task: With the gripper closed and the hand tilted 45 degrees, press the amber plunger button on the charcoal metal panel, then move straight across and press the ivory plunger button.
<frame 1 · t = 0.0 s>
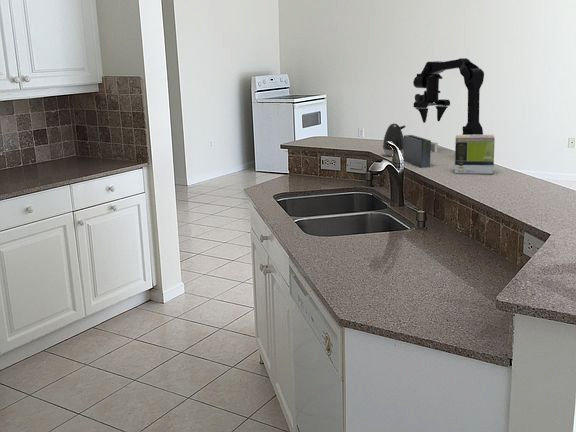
hand: (431, 121, 305), 15 cm above the counter, tool pointing down, fingers open, 9 cm apart
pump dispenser: (393, 156, 302), on the counter
amber button: (417, 142, 285), point 8 cm above the counter, slide at 0.0 cm
tea box: (473, 172, 258), on the counter
ivory button: (430, 147, 272), point 8 cm above the counter, slide at 0.0 cm
button panel: (428, 162, 281), on the counter
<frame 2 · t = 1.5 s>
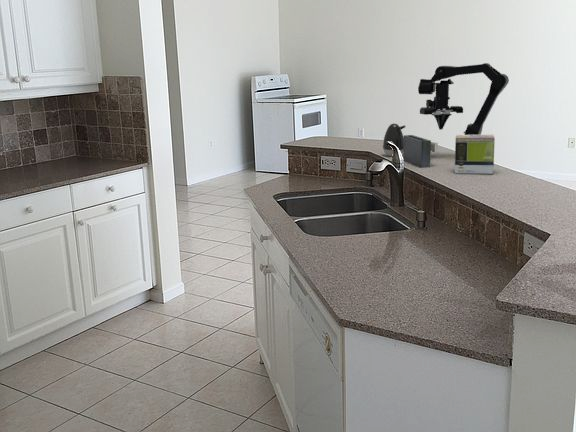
hand: (440, 129, 289), 13 cm above the counter, tool pointing down, fingers closed
nothing on the counter moved.
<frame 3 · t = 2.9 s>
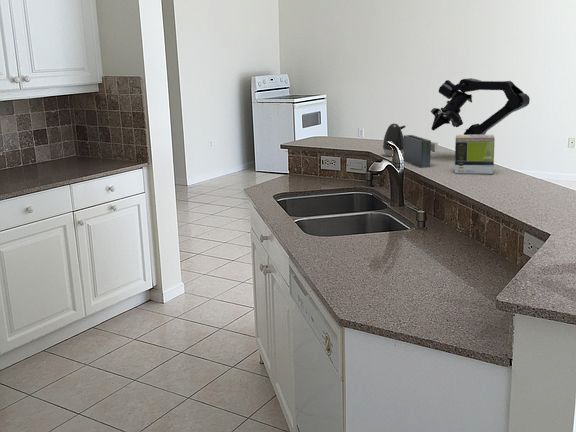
hand: (432, 129, 285), 13 cm above the counter, tool tilted 45°, fingers closed
nothing on the counter moved.
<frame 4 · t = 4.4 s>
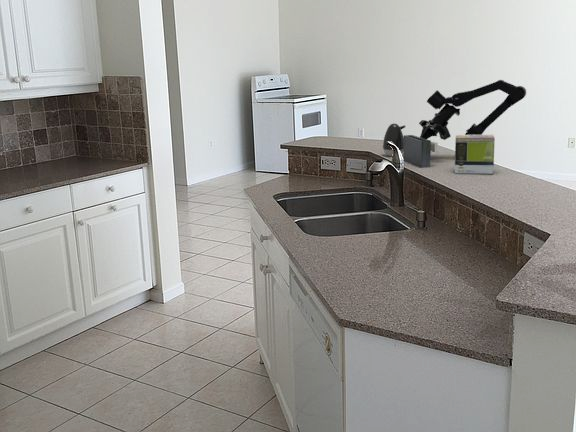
hand: (419, 142, 286), 8 cm above the counter, tool tilted 45°, fingers closed, pressing on amber button
amber button: (414, 142, 285), point 8 cm above the counter, slide at 1.4 cm, touching gripper
everything else where it was.
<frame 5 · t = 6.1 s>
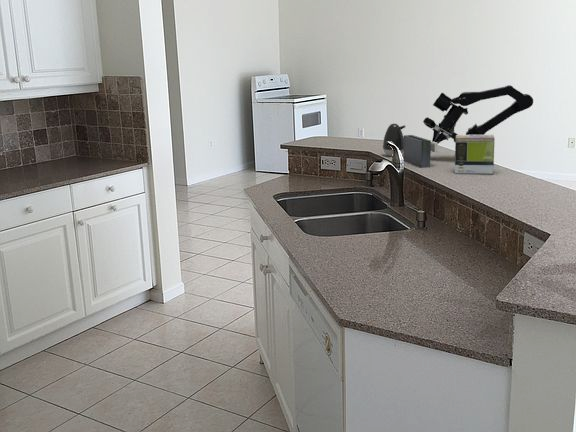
hand: (431, 146, 284), 6 cm above the counter, tool tilted 35°, fingers closed
amber button: (412, 143, 285), point 8 cm above the counter, slide at 2.3 cm, touching button panel
everything else where it was.
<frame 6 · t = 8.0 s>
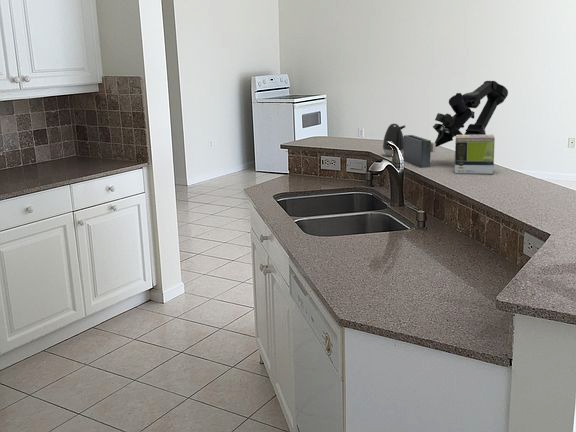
hand: (434, 146, 272), 8 cm above the counter, tool tilted 45°, fingers closed, pressing on ivory button
ivory button: (428, 147, 272), point 8 cm above the counter, slide at 0.9 cm, touching gripper
everything else where it was.
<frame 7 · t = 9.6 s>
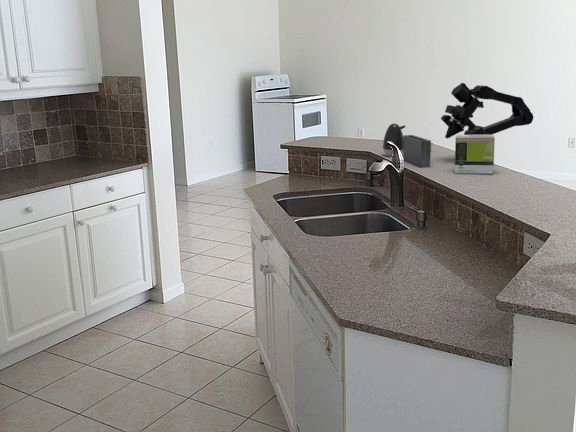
hand: (446, 137, 278), 11 cm above the counter, tool tilted 40°, fingers closed
ivory button: (425, 147, 272), point 8 cm above the counter, slide at 2.3 cm, touching button panel
everything else where it was.
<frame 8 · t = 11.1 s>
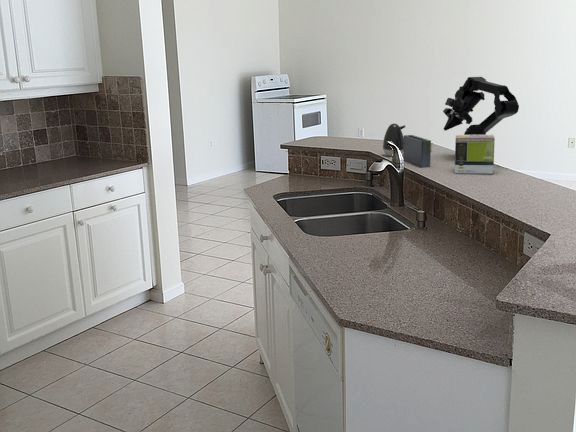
hand: (444, 129, 283), 14 cm above the counter, tool tilted 45°, fingers closed
nothing on the counter moved.
at the end: amber button slide at 2.3 cm; ivory button slide at 2.3 cm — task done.
